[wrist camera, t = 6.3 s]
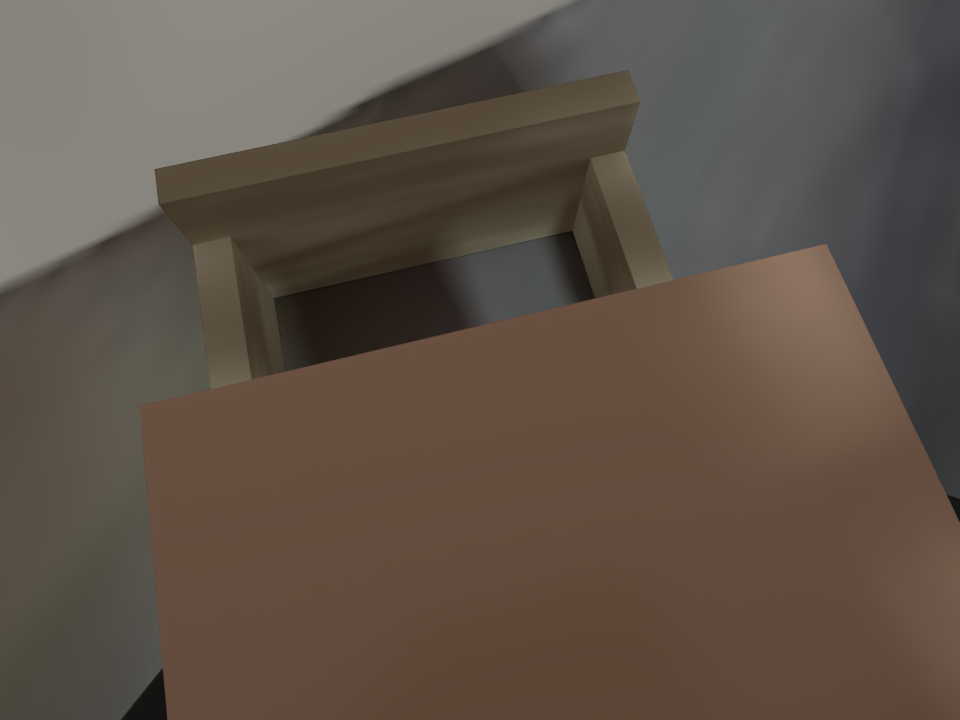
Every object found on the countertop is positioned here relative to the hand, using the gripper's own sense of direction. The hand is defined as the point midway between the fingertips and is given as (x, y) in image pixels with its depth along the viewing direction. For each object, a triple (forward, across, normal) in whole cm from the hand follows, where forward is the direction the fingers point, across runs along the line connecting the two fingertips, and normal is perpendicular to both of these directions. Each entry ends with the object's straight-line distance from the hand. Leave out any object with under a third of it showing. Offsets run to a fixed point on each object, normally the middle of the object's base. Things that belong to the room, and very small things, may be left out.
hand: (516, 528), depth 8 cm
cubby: (+13, 0, +4) cm, 14 cm away
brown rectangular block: (+4, 0, +6) cm, 7 cm away
